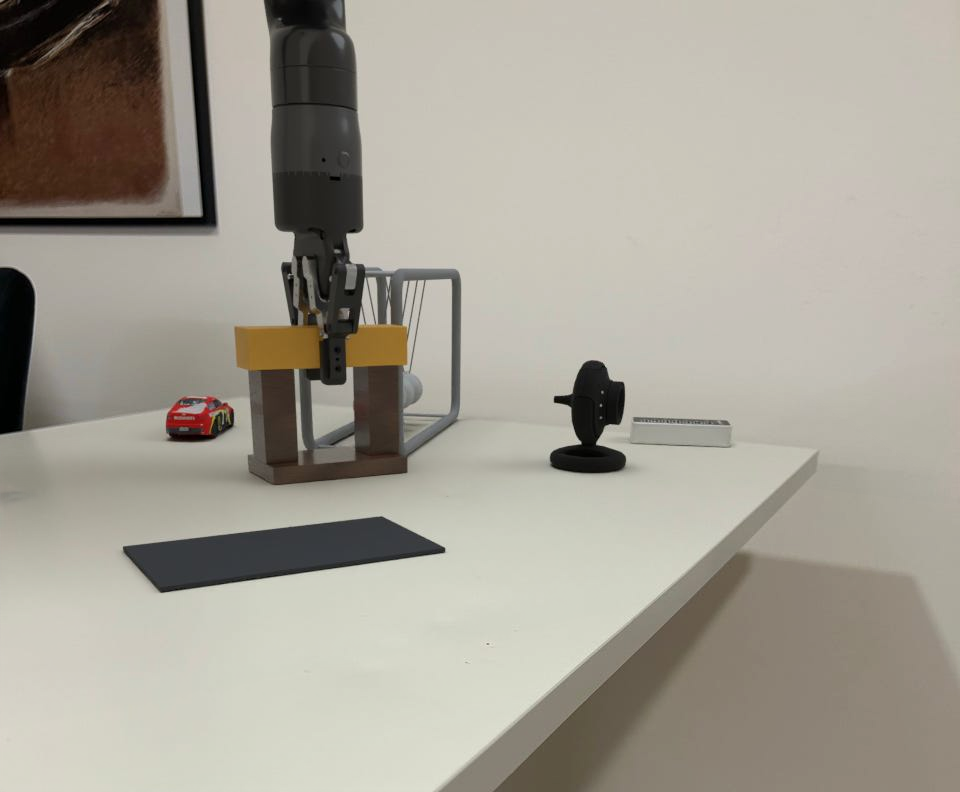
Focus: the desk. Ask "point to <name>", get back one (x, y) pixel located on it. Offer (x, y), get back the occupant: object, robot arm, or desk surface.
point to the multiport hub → (680, 431)
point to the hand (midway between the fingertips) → (325, 381)
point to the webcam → (592, 420)
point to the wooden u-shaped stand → (366, 458)
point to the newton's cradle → (407, 382)
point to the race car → (199, 416)
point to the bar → (317, 347)
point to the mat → (276, 552)
